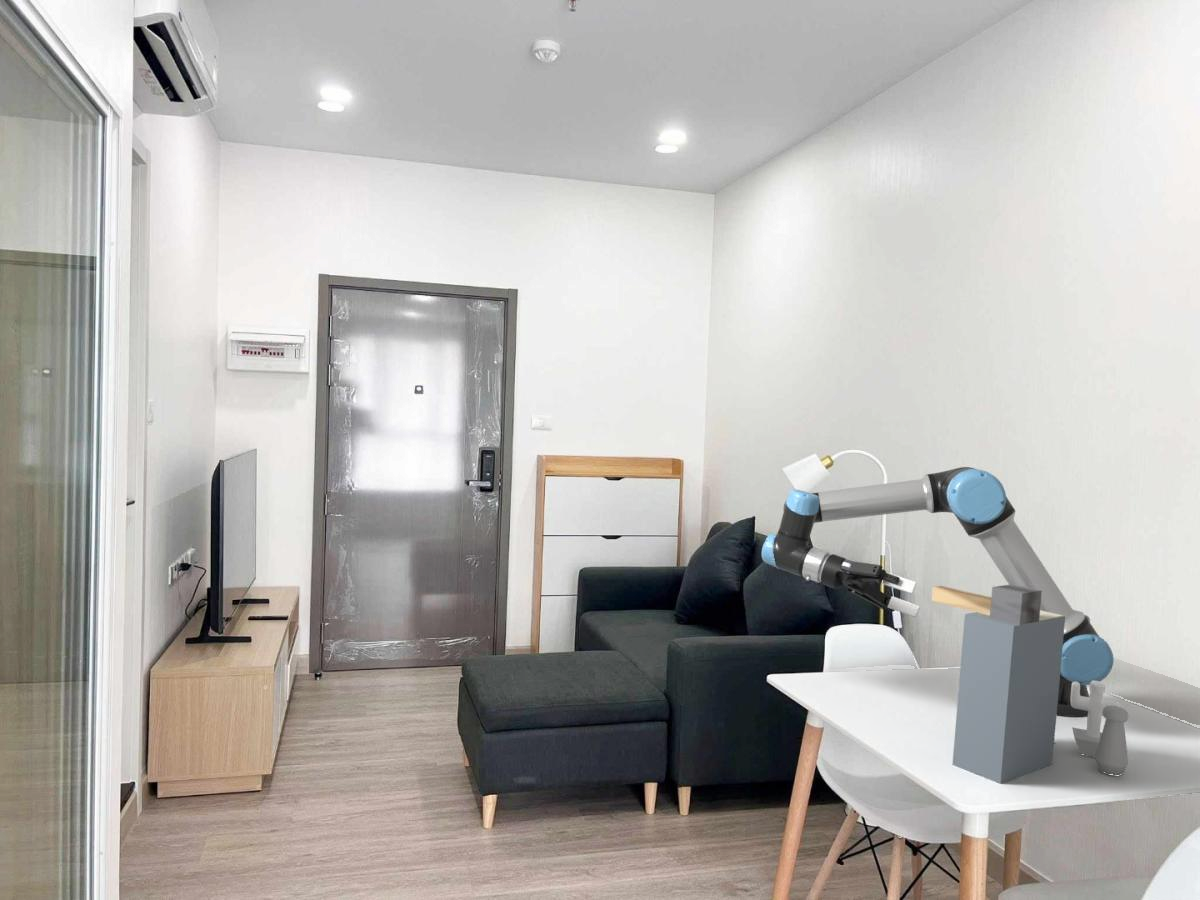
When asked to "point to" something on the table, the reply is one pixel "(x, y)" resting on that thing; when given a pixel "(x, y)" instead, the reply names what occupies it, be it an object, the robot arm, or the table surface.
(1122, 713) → the salt shaker
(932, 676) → the table surface
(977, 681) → the tall grey pillar
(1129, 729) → the table surface
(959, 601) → the hammer
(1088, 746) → the figurine
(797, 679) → the table surface
